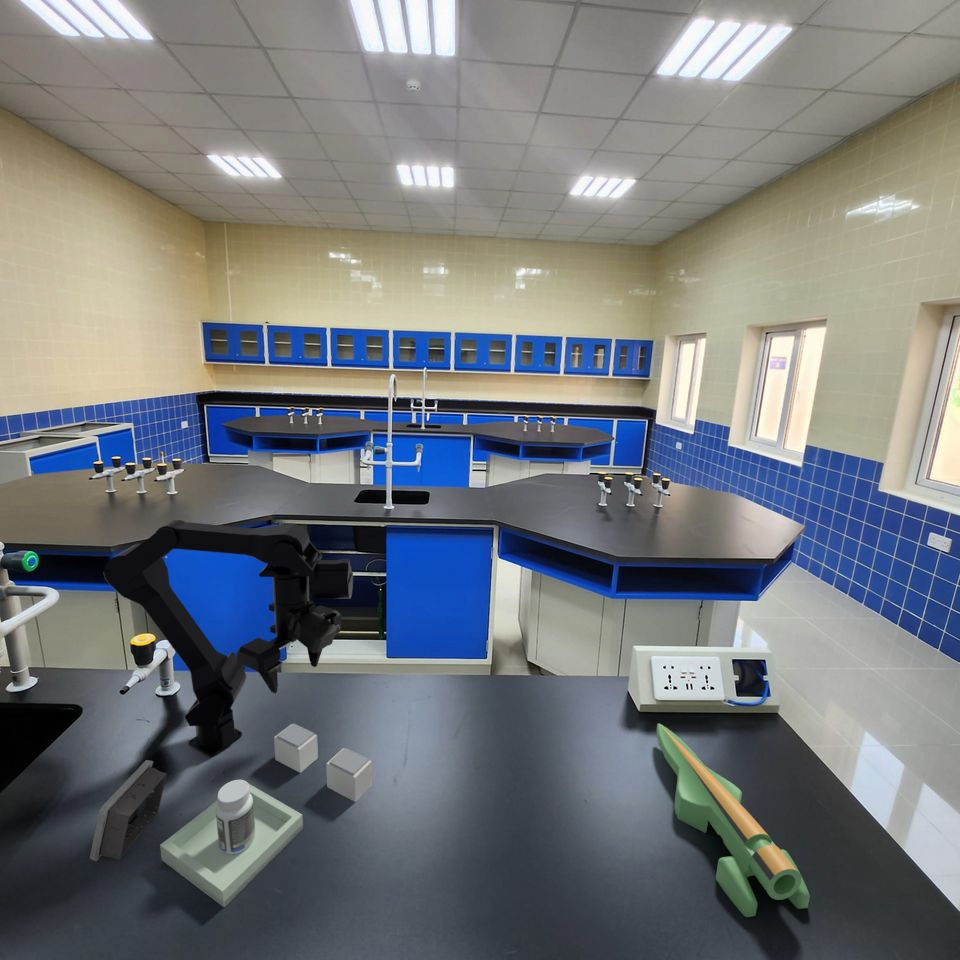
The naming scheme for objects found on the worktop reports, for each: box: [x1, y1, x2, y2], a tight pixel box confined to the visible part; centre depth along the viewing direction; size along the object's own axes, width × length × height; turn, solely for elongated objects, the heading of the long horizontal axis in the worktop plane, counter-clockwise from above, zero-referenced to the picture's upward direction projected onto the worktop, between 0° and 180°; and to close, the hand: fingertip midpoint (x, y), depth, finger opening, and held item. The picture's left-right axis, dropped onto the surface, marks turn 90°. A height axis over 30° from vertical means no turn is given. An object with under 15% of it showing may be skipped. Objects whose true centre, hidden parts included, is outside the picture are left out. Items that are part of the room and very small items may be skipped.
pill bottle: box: [216, 779, 255, 854], centre depth 72 cm, size 5×5×8 cm
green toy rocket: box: [656, 722, 811, 918], centre depth 81 cm, size 32×10×7 cm, turn 9°
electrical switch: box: [89, 759, 168, 862], centre depth 73 cm, size 9×5×9 cm, turn 176°
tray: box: [159, 783, 304, 908], centre depth 73 cm, size 13×13×2 cm
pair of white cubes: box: [273, 723, 373, 803], centre depth 86 cm, size 18×4×5 cm, turn 62°
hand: (295, 678), depth 92 cm, fingers open, 9 cm apart
